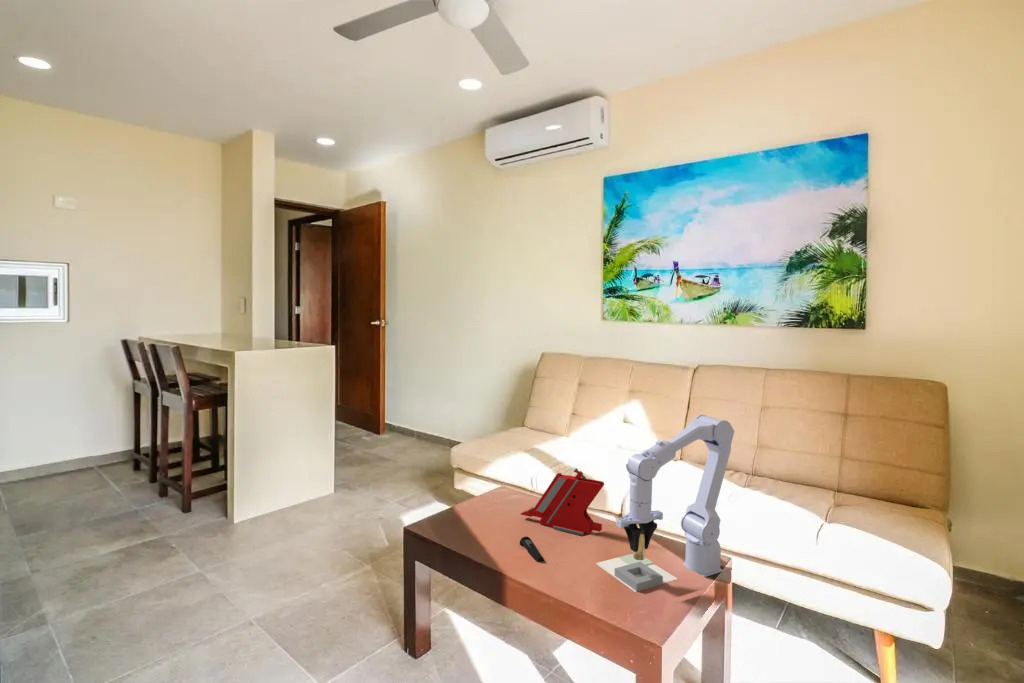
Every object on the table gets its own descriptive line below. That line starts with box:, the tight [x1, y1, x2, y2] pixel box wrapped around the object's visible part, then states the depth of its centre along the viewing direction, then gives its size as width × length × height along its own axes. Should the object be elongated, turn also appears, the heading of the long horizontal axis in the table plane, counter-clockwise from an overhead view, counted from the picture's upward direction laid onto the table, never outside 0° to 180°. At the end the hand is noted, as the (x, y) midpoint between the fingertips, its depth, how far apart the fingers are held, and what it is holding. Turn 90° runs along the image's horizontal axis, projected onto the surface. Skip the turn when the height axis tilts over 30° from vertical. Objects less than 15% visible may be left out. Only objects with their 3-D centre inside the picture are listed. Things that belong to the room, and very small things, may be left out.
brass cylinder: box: [632, 531, 646, 560], centre depth 141 cm, size 3×3×7 cm
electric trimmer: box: [519, 536, 545, 563], centre depth 158 cm, size 4×15×3 cm, turn 17°
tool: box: [520, 467, 605, 537], centre depth 175 cm, size 27×6×27 cm, turn 64°
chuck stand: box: [595, 553, 678, 593], centre depth 146 cm, size 15×17×3 cm
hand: (639, 549), depth 141 cm, fingers closed on brass cylinder, 3 cm apart
